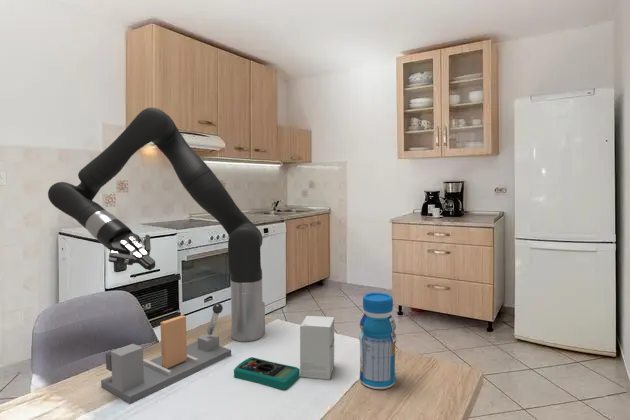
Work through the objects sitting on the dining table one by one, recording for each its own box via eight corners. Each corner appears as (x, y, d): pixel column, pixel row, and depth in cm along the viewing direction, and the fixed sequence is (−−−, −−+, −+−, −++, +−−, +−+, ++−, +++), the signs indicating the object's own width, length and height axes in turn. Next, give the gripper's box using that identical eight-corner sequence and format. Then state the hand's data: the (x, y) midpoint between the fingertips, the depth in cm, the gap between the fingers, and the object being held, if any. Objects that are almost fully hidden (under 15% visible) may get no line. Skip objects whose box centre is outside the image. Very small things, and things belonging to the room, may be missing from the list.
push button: (122, 362, 91) (121, 347, 91) (126, 365, 90) (125, 349, 90) (106, 368, 89) (105, 353, 88) (110, 371, 87) (110, 355, 87)
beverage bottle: (372, 394, 85) (372, 303, 84) (352, 376, 93) (352, 293, 91) (403, 385, 89) (404, 298, 87) (381, 369, 96) (382, 289, 95)
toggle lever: (210, 330, 107) (219, 300, 104) (215, 335, 106) (225, 306, 103) (202, 333, 105) (211, 302, 102) (208, 339, 104) (218, 308, 101)
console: (201, 344, 112) (201, 311, 111) (231, 355, 105) (230, 320, 104) (101, 386, 89) (99, 345, 88) (130, 403, 82) (128, 359, 81)
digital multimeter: (249, 365, 100) (249, 354, 100) (301, 378, 93) (301, 366, 93) (231, 378, 93) (231, 366, 93) (285, 393, 87) (285, 380, 87)
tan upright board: (183, 358, 99) (182, 315, 98) (187, 359, 98) (185, 316, 97) (161, 367, 94) (160, 322, 93) (165, 369, 93) (164, 323, 92)
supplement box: (330, 380, 91) (330, 327, 90) (299, 377, 93) (298, 325, 92) (335, 365, 99) (335, 316, 98) (306, 363, 100) (306, 314, 99)
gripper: (86, 229, 100) (133, 269, 96) (130, 210, 111) (174, 246, 107) (84, 249, 104) (129, 289, 100) (127, 230, 115) (170, 265, 111)
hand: (152, 267), depth 104 cm, fingers closed
